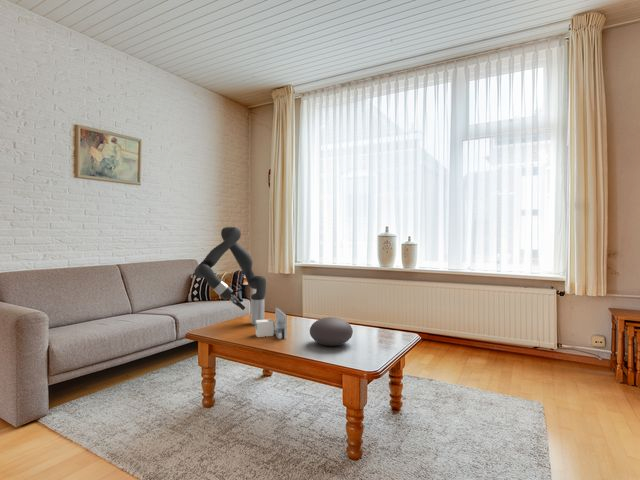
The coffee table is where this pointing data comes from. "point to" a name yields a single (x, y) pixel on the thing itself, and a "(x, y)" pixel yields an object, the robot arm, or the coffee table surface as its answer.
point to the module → (264, 328)
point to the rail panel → (280, 324)
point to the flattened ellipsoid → (331, 331)
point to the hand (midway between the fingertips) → (244, 308)
